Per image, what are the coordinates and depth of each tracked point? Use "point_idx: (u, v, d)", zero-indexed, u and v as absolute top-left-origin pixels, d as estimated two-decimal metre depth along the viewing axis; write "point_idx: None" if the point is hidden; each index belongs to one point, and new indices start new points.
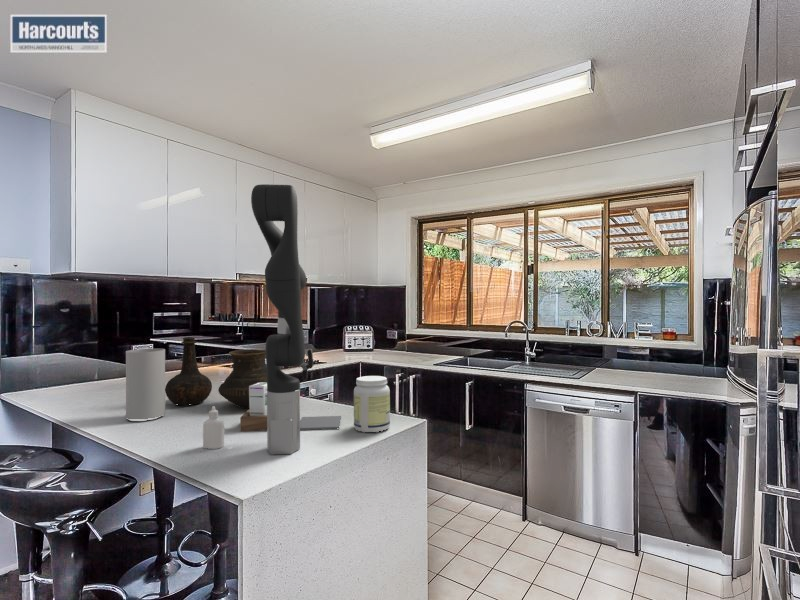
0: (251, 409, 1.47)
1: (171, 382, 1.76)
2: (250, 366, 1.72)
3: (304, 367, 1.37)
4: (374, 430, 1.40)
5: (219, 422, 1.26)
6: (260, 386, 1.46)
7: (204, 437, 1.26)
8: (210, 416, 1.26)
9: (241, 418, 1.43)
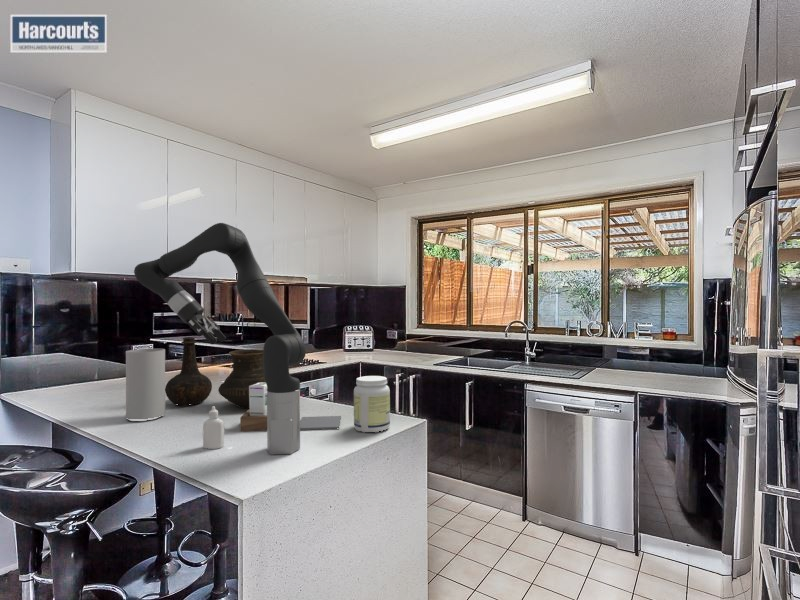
0: (251, 409, 1.47)
1: (171, 382, 1.76)
2: (250, 366, 1.72)
3: (217, 327, 1.52)
4: (374, 430, 1.40)
5: (219, 422, 1.26)
6: (260, 386, 1.46)
7: (204, 437, 1.26)
8: (210, 416, 1.26)
9: (241, 418, 1.43)
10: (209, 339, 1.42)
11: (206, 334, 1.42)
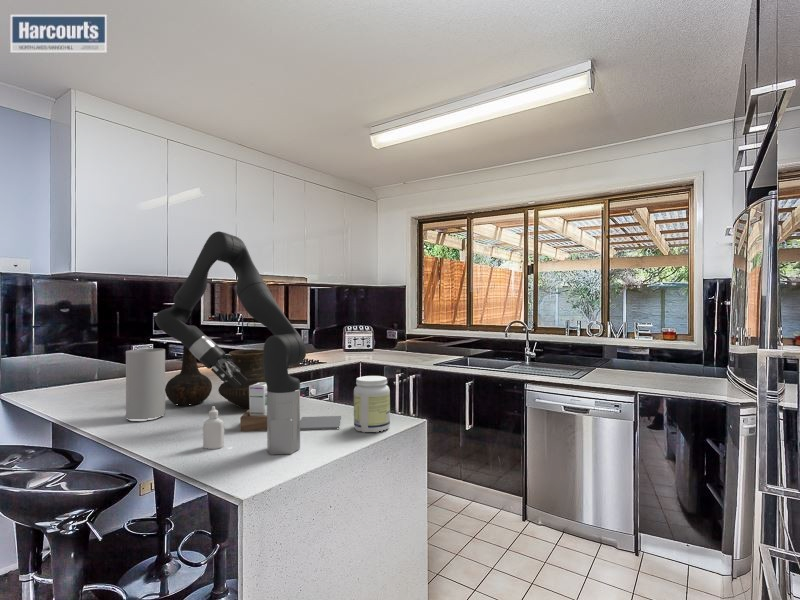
0: (251, 409, 1.47)
1: (171, 382, 1.76)
2: (250, 366, 1.72)
3: (238, 370, 1.53)
4: (374, 430, 1.40)
5: (219, 422, 1.26)
6: (260, 386, 1.46)
7: (204, 437, 1.26)
8: (210, 416, 1.26)
9: (241, 418, 1.43)
10: (233, 384, 1.43)
11: (230, 379, 1.43)
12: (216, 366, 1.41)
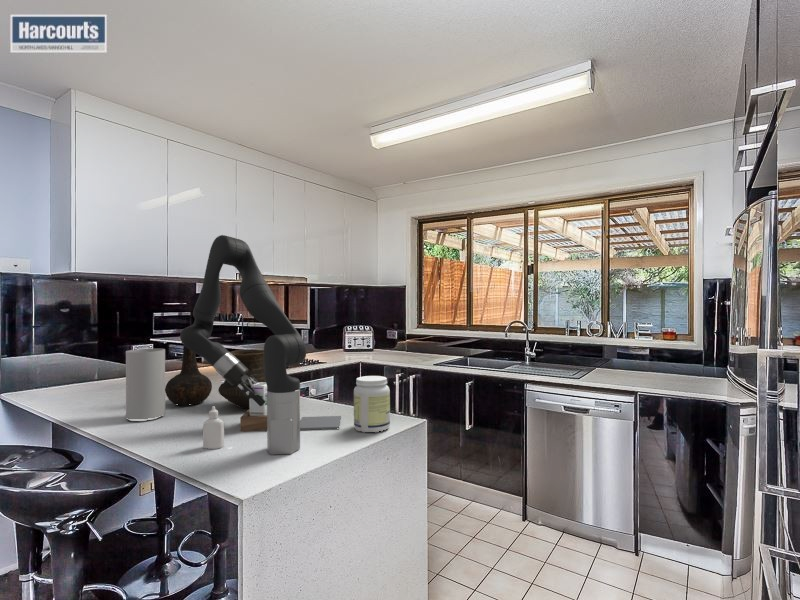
0: (251, 409, 1.47)
1: (171, 382, 1.76)
2: (250, 366, 1.72)
3: None
4: (374, 430, 1.40)
5: (219, 422, 1.26)
6: (260, 386, 1.46)
7: (204, 437, 1.26)
8: (210, 416, 1.26)
9: (241, 418, 1.43)
10: (258, 401, 1.44)
11: (255, 397, 1.44)
12: (241, 384, 1.42)
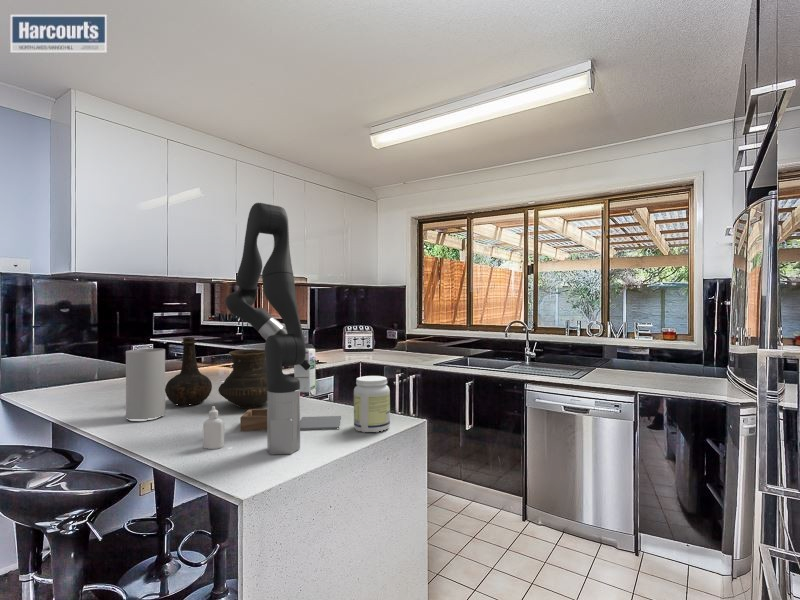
0: (296, 373, 1.48)
1: (171, 382, 1.76)
2: (250, 366, 1.72)
3: None
4: (374, 430, 1.40)
5: (219, 422, 1.26)
6: None
7: (204, 437, 1.26)
8: (210, 416, 1.26)
9: (241, 418, 1.43)
10: (304, 365, 1.46)
11: None
12: None
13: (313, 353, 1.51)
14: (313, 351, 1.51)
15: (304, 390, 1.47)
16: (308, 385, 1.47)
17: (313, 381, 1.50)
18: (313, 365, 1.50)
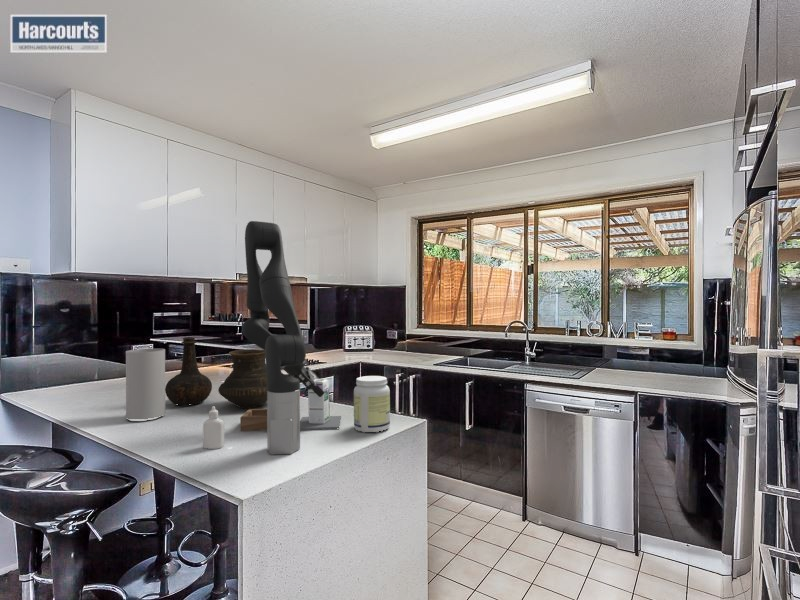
0: (310, 405, 1.48)
1: (171, 382, 1.76)
2: (250, 366, 1.72)
3: (317, 378, 1.55)
4: (374, 430, 1.40)
5: (219, 422, 1.26)
6: (319, 382, 1.48)
7: (204, 437, 1.26)
8: (210, 416, 1.26)
9: (241, 418, 1.43)
10: (317, 392, 1.45)
11: (314, 387, 1.45)
12: (302, 375, 1.44)
13: (327, 384, 1.51)
14: (327, 382, 1.51)
15: (318, 422, 1.48)
16: (322, 417, 1.48)
17: (327, 412, 1.51)
18: (327, 396, 1.51)
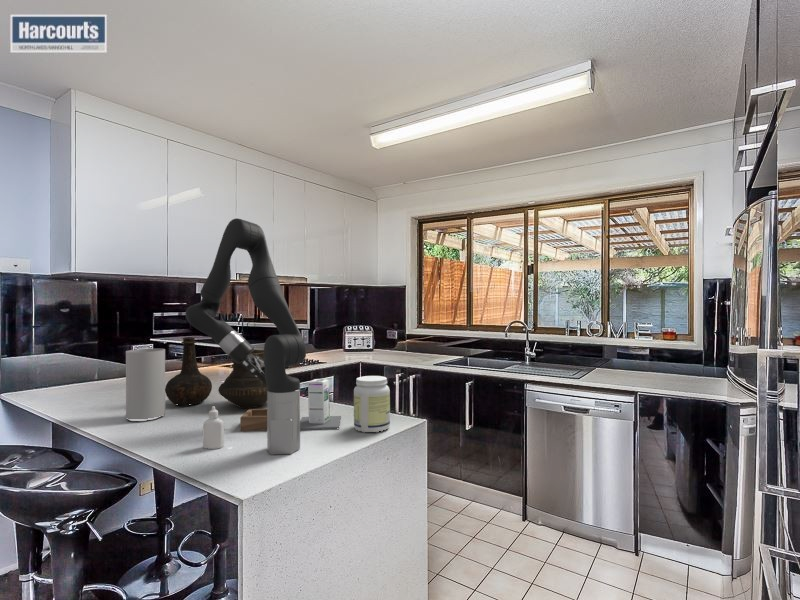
0: (310, 405, 1.48)
1: (171, 382, 1.76)
2: None
3: None
4: (374, 430, 1.40)
5: (219, 422, 1.26)
6: (319, 382, 1.48)
7: (204, 437, 1.26)
8: (210, 416, 1.26)
9: (241, 418, 1.43)
10: (262, 379, 1.43)
11: (259, 374, 1.43)
12: (246, 361, 1.41)
13: (327, 384, 1.51)
14: (327, 382, 1.51)
15: (318, 422, 1.48)
16: (322, 417, 1.48)
17: (327, 412, 1.51)
18: (327, 396, 1.51)
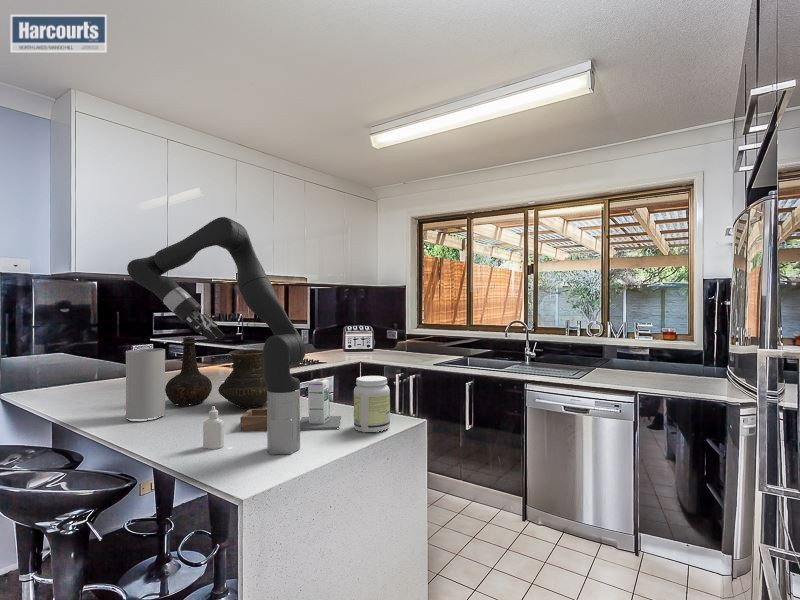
0: (310, 405, 1.48)
1: (171, 382, 1.76)
2: (250, 366, 1.72)
3: (215, 325, 1.47)
4: (374, 430, 1.40)
5: (219, 422, 1.26)
6: (319, 382, 1.48)
7: (204, 437, 1.26)
8: (210, 416, 1.26)
9: (241, 418, 1.43)
10: (208, 336, 1.37)
11: (204, 331, 1.37)
12: (190, 317, 1.35)
13: (327, 384, 1.51)
14: (327, 382, 1.51)
15: (318, 422, 1.48)
16: (322, 417, 1.48)
17: (327, 412, 1.51)
18: (327, 396, 1.51)
